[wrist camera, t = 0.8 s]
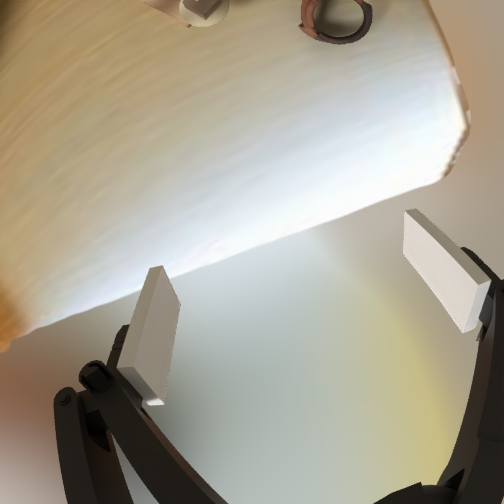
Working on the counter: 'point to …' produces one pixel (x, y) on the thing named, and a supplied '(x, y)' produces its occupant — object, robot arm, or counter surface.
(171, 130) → the counter surface
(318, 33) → the pottery mug
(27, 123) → the counter surface
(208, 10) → the balance
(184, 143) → the counter surface
